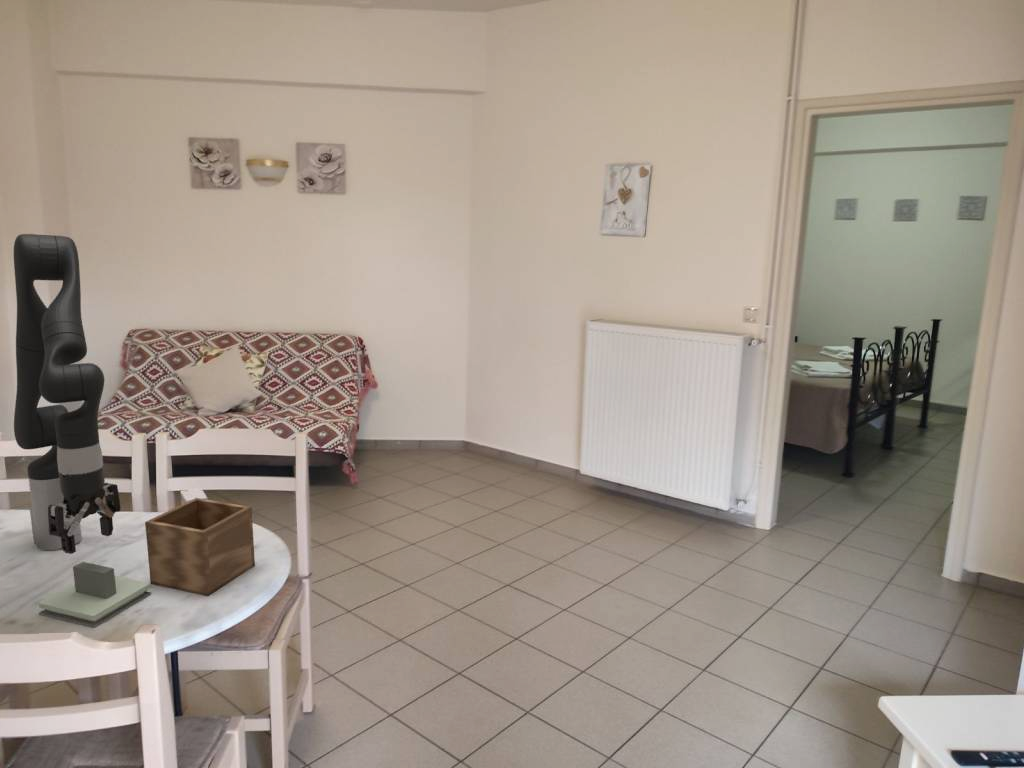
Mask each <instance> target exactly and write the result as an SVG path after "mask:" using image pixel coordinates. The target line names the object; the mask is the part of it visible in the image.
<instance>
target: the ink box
mask: <svg viewBox="0 0 1024 768" xmlns="http://www.w3.org/2000/svg"><path fill="white" fill-rule="evenodd" d="M195 498H200V499H206V500H209V498H208V497H207V495H206V493H205V492H204V490H203V489H202V488H201V487H196V488H190V489H184V490H180V500H181V505H182V504H184V503H187V502H189V501H191V500H193V499H195Z"/></svg>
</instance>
